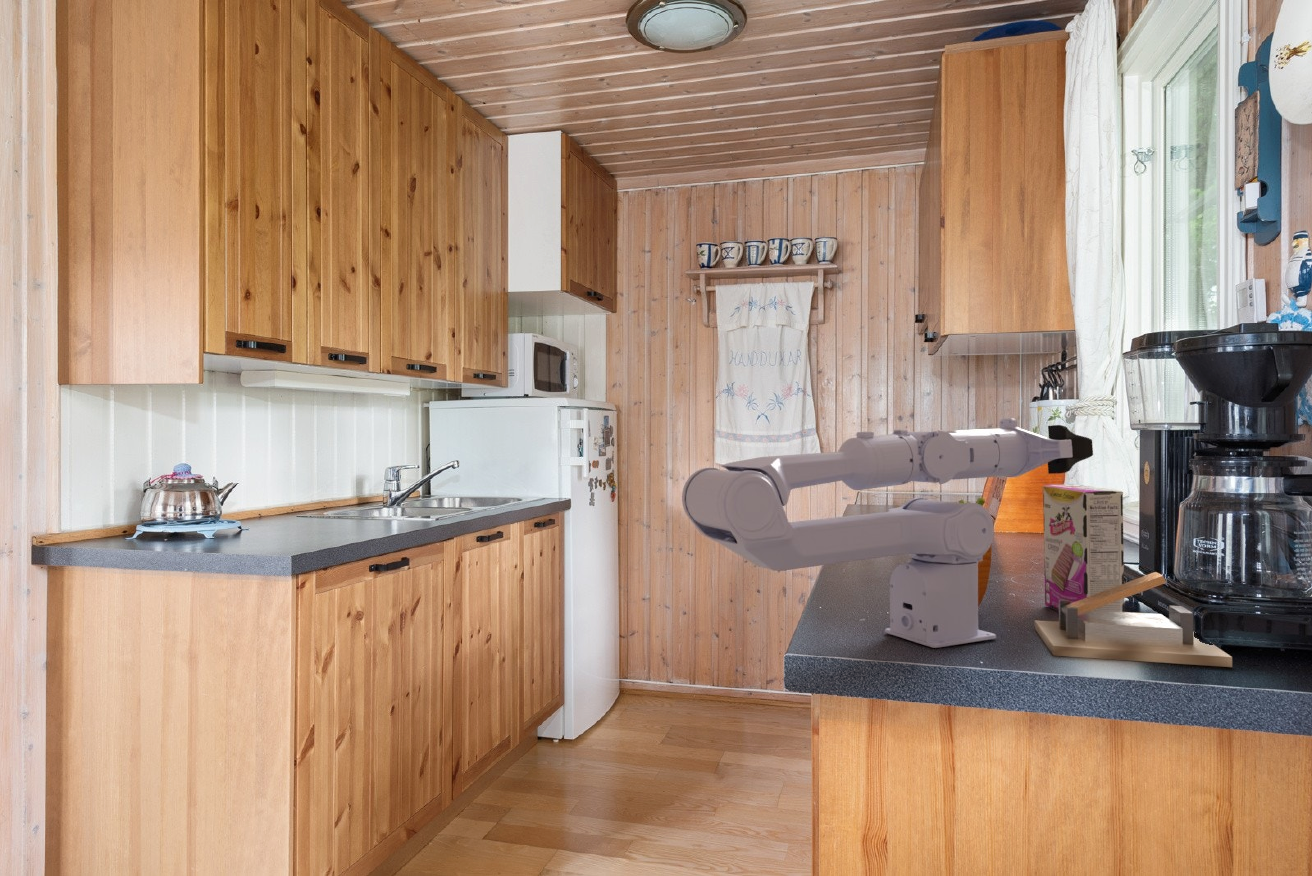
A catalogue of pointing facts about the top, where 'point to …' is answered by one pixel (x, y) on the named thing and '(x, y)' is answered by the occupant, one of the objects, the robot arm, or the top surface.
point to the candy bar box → (1082, 543)
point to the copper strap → (1117, 593)
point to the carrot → (983, 565)
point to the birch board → (1130, 649)
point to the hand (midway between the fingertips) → (1062, 449)
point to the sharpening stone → (1129, 627)
